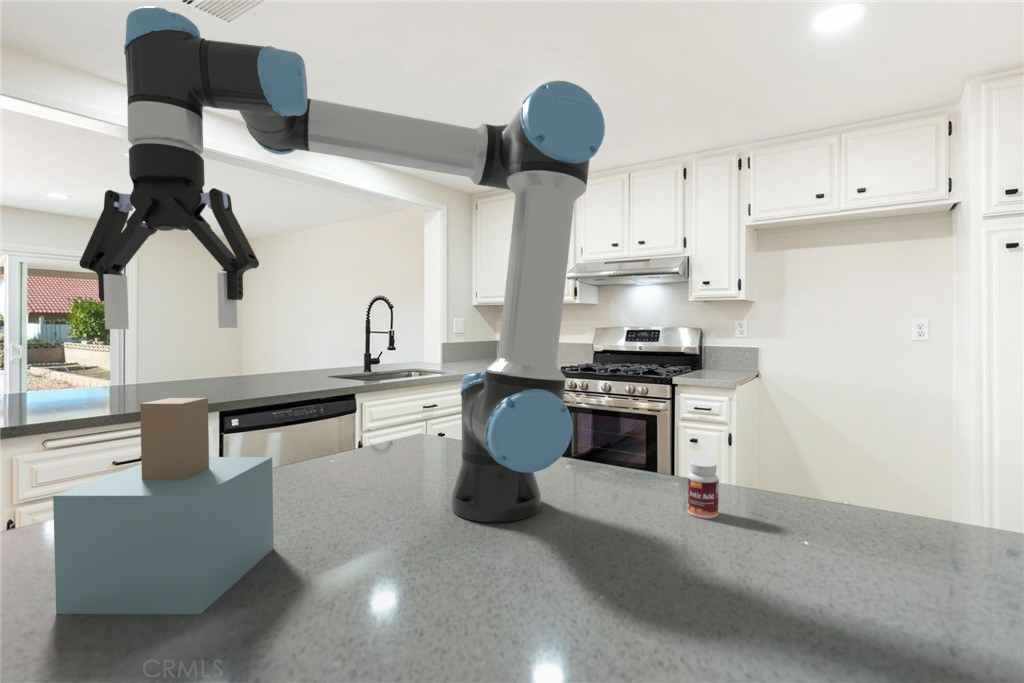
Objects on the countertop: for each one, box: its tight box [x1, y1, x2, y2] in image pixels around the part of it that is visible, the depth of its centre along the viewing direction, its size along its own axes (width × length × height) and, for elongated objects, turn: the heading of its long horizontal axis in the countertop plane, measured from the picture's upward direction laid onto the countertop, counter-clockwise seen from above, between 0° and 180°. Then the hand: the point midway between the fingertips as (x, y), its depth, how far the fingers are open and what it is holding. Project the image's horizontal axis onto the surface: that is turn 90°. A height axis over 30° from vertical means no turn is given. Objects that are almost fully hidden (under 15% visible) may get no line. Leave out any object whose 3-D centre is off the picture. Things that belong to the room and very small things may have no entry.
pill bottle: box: [687, 459, 720, 520], centre depth 85 cm, size 5×5×8 cm
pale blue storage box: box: [52, 397, 275, 615], centre depth 64 cm, size 16×17×22 cm
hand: (172, 328), depth 63 cm, fingers open, 13 cm apart
